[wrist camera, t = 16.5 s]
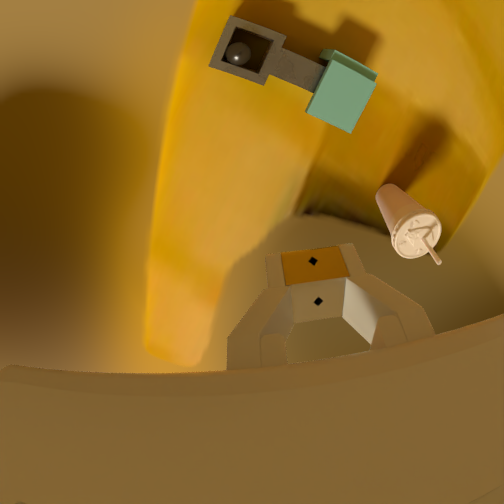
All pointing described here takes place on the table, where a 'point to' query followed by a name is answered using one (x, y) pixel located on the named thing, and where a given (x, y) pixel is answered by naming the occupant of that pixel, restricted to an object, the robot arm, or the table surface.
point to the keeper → (341, 90)
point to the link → (267, 58)
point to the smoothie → (408, 223)
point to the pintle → (238, 53)
